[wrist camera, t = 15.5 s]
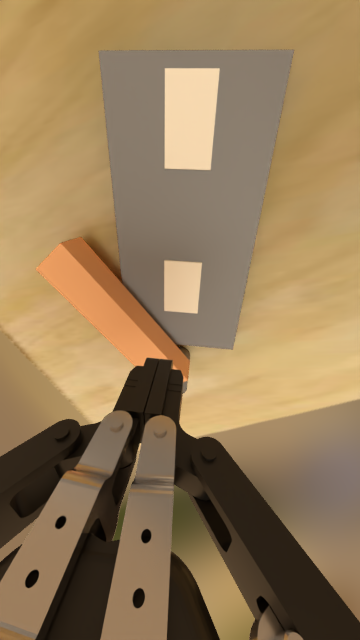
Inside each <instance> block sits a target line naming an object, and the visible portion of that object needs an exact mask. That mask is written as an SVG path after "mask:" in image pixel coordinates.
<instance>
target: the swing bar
mask: <svg viewBox="0 0 360 640" xmlns="http://www.w3.org/2000/svg"><path fill="white" fill-rule="evenodd" d="M36 270H37V271H38V272H39V273H40V274H41V275H42V276H43V277H44V278H45V279H46V280H47V281H48V282H49V283H50V284H51V285H52V286H53V287H54V288H55V289H56V290H57V291H58V292H59V293H60V294H62V295H63V296H64V297H65V298H66V299H67V300H68V301H69V302H70V303H71V304H72V305H73V306H74V307H75V308H76V309H77V310H78V311H79V312H80V313H81V314H82V315H83V316H84V317H85V318H86V319H87V320H88V321H89V322H90V323H91V324H92V325H93V326H94V327H95V328H96V329H97V330H98V331H99V332H100V333H101V334H103V335H104V336H105V337H106V338H107V339H108V340H109V341H110V342H111V343H112V344H113V345H114V346H115V347H116V348H117V349H118V350H119V351H120V352H121V353H122V354H123V355H124V356H125V357H126V358H127V359H128V360H129V361H130V362H131V363H132V364H133V365H134V366H135V367H136V366H144V363H145V360H146V358H157V359H168V360H173V369H175V370H181V372H182V375H183V393H184V392H185V391H186V389H187V381H188V374H189V363H190V361H189V359H188V358H187V357H186V356H185V355H184V354H183V353H182V351H181V350H180V349H179V348H178V347H177V346H176V345H175V343H174V342H173V341H172V340H171V339H170V338H169V337H168V335H167V334H166V333H165V332H164V331H163V330H162V329H161V328H160V326H159V325H158V324H157V323H156V322H155V321H154V320H153V318H152V317H151V316H150V315H149V314H148V313H147V312H146V310H145V309H144V308H143V307H142V306H141V305H140V304H139V302H138V301H137V300H136V299H135V298H134V297H133V296H132V294H131V293H130V292H129V291H128V290H127V289H126V288H125V287H124V285H123V284H122V283H121V282H120V281H119V280H118V279H117V277H116V276H115V275H114V274H113V273H112V272H111V271H110V269H109V268H108V267H107V266H106V265H105V264H104V263H103V261H102V260H101V259H100V258H99V257H98V256H97V255H96V253H95V252H94V251H93V250H92V249H91V248H90V247H89V246H88V244H87V243H86V242H85V241H84V240H83V239H82V238H81V237H79V238H76V239H72V240H69V241H65V242H62V243H60V244H59V245H58V246H57V247H56V248H55V249H54V250H53V251H52V252H51V253H50V254H49V255H48V257H47V258H46V259H45V260H44V261H43V262H42V263H41V264H40V265H39V266H38V267H37V268H36ZM183 393H182V394H183Z"/></svg>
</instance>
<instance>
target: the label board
mask: <svg viewBox="0 0 360 640" xmlns="http://www.w3.org/2000/svg"><path fill="white" fill-rule="evenodd" d="M293 53H294V50H131V51H99V59H100V69H101V79H102V89H103V99H104V108H105V118H106V128H107V138H108V148H109V158H110V168H111V178H112V188H113V198H114V208H115V217H116V227H117V237H118V247H119V257H120V267H121V277H122V284H123V285H124V287H125V288H126V289H127V290H128V291H129V292H130V293H131V294H132V296H133V297H134V298H135V299H136V300H137V301H138V302H139V304H140V305H141V306H142V307H143V308H144V309H145V310H146V312H147V313H148V314H149V315H150V316H151V317H152V318H153V320H154V321H155V322H156V323H157V324H158V325H159V326H160V328H161V329H162V330H163V331H164V332H165V333H166V334H167V335H168V337H169V338H170V339H171V340H172V341H173V342H174V343H175V344H178V345H189V346H199V347H210V348H221V349H231V350H233V346H234V341H235V336H236V332H237V327H238V322H239V317H240V312H241V307H242V302H243V297H244V292H245V288H246V283H247V278H248V273H249V268H250V263H251V258H252V253H253V248H254V244H255V239H256V234H257V229H258V224H259V219H260V214H261V209H262V205H263V200H264V195H265V190H266V185H267V180H268V175H269V170H270V165H271V161H272V156H273V151H274V146H275V141H276V136H277V131H278V126H279V122H280V117H281V112H282V107H283V102H284V97H285V92H286V87H287V82H288V78H289V73H290V68H291V63H292V58H293ZM178 348H179V349H180V350H181V351H182V353H183V354H184V355H185V356H186V357H187V358H188V359H189V361H190V353H189V351H188V350H187V349H185V348H183V347H178Z"/></svg>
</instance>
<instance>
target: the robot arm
mask: <svg viewBox="0 0 360 640" xmlns="http://www.w3.org/2000/svg"><path fill="white" fill-rule="evenodd" d="M182 393H183V375H182V372H181V370H175V369H173V360H168V359H157V358H146V360H145V363H144V366H136V367H135V368H134V369H133V370H131V371H130V373H129V376H128V378H127V380H126V383H125V385H124V387H123V389H122V392H121V394H120V396H119V398H118V401H117V403H116V405H115V408H114V410H113V412H111V413H109V414H108V415H107V416H105V417H104V419H103V420H102V421H101V422H98V423H95V424H89V425H85V426H80V425H79V423H78V422H77V421H75V420H72V419H66V420H62V421H59V422H57V423H56V424H54V425H52V426H51V427H49V428H47V429H46V430H44V431H42V432H41V433H39V434H37V435H36V436H34V437H32V438H31V439H29V440H27V441H26V442H24V443H22V444H21V445H19V446H17V447H16V448H14V449H12V450H11V451H9V452H8V453H6V454H4V455H3V456H1V457H0V548H1V547H3V546H4V545H5V544H6V543H8V542H9V541H10V540H11V539H12V538H13V537H15V536H16V535H17V534H18V533H20V532H21V531H22V530H23V529H24V528H26V527H27V526H28V525H29V524H30V523H32V522H33V521H34V520H35V519H36V518H38V519H37V520H36V522H35V524H34V525H33V527H32V529H31V531H30V532H29V534H28V536H27V538H26V539H25V541H24V542H23V544H22V545H21V546H19V547H18V548H16V549H15V550H14V551H12V552H11V553H10V554H9V555H8V556H7V557H5V558H4V559H3V560H2V561H1V562H0V640H220V639H219V636H218V634H217V631H216V629H215V626H214V624H213V622H212V619H211V616H210V614H209V612H208V609H207V607H206V604H205V602H204V600H203V597H202V595H201V592H200V589H199V587H198V585H197V582H196V581H195V579H194V577H193V575H192V573H191V572H190V570H189V569H188V567H187V566H186V565H185V564H184V562H183V561H182V560H181V559H180V558H179V557H178V556H177V555H176V554H174V553H173V552H171V534H172V513H173V491H174V485H176V486H178V487H179V488H181V489H183V490H184V491H186V492H188V494H189V497H190V499H191V500H192V502H193V504H194V506H195V508H196V510H197V512H198V513H199V515H200V517H201V519H202V521H203V522H204V524H205V526H206V528H207V530H208V532H209V534H210V536H211V537H212V539H213V541H214V543H215V545H216V547H217V549H218V551H219V552H220V554H221V556H222V558H223V560H224V562H225V564H226V565H227V567H228V569H229V571H230V573H231V575H232V576H233V578H234V580H235V582H236V584H237V586H238V588H239V590H240V591H241V593H242V595H243V597H244V599H245V600H246V602H247V604H248V606H249V608H250V610H251V612H252V614H253V615H254V617H255V621H254V622H253V625H252V627H251V631H250V637H249V640H360V622H359V621H358V620H357V618H356V617H355V616H354V614H353V613H352V612H351V610H350V609H349V608H348V606H347V605H346V604H345V603H344V601H343V600H342V599H341V598H340V596H339V595H338V594H337V592H336V591H335V590H334V589H333V587H332V586H331V585H330V584H329V582H328V581H327V579H326V578H325V577H324V576H323V574H322V573H321V572H320V570H319V569H318V568H317V567H316V565H315V564H314V563H313V561H312V560H311V559H310V558H309V556H308V555H307V554H306V552H305V551H304V550H303V549H302V548H301V546H300V545H299V544H298V542H297V541H296V540H295V538H294V537H293V536H292V534H291V533H290V532H289V531H288V529H287V528H286V527H285V525H284V524H283V523H282V522H281V520H280V519H279V518H278V516H277V515H276V514H275V513H274V511H273V510H272V509H271V507H270V506H269V505H268V504H267V502H266V501H265V500H264V498H263V497H262V496H261V495H260V493H259V492H258V491H257V489H256V488H255V487H254V486H253V484H252V483H251V482H250V480H249V479H248V478H247V477H246V475H245V474H244V473H243V472H242V470H241V469H240V468H239V466H238V465H237V464H236V462H235V461H234V460H233V459H232V457H231V456H230V455H229V453H228V452H227V451H226V450H225V448H224V447H223V446H222V445H221V443H220V442H218V441H217V440H216V439H214V438H210V437H202V438H199V439H196V438H194V437H192V436H190V435H188V434H187V433H185V432H184V431H183V430H182V428H181V426H180V424H179V420H180V411H181V403H182ZM139 443H141V449H140V454H139V460H138V465H137V471H136V476H135V479H134V481H133V482H132V485H131V488H130V492H129V497H128V502H127V508H126V512H125V517H124V523H123V528H122V533H121V538H120V540H117V541H112V540H113V537H114V534H115V530H116V526H117V522H118V516H119V510H120V506H121V503H122V500H123V497H124V494H125V491H126V488H127V485H128V483H129V479H130V476H131V474H132V471H133V468H134V465H135V462H136V454H137V451H138V447H139Z"/></svg>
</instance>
